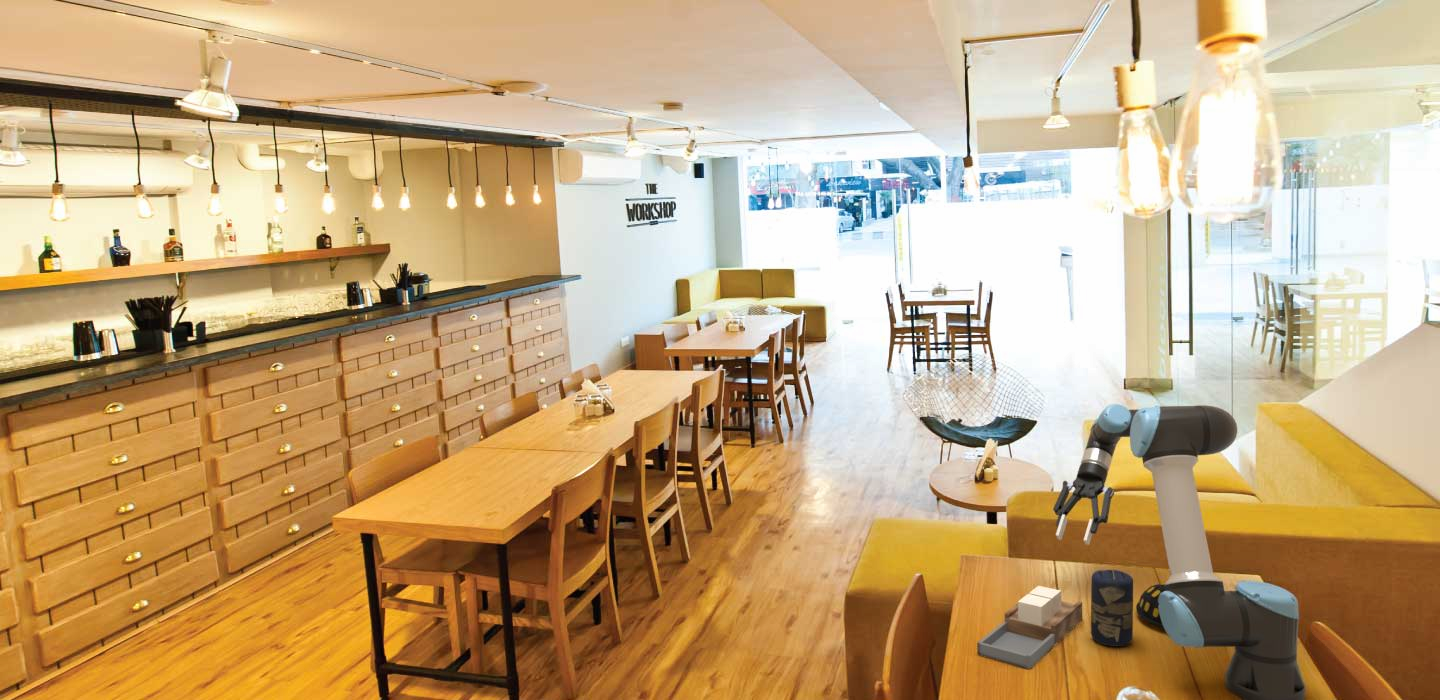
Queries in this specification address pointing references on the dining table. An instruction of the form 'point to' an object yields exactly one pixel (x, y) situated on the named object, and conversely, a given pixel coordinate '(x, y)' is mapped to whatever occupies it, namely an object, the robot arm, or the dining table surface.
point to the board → (1055, 625)
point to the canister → (1112, 607)
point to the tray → (1014, 647)
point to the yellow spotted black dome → (1151, 605)
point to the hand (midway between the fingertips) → (1072, 540)
